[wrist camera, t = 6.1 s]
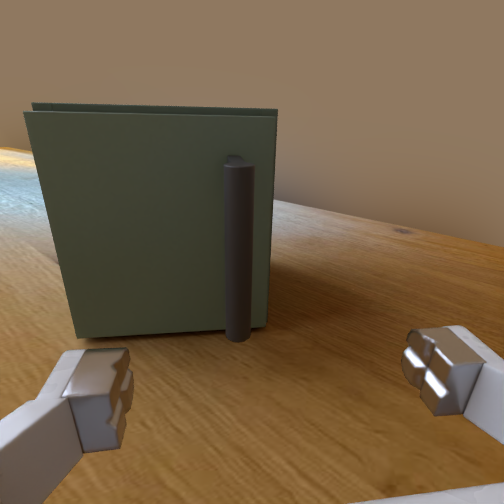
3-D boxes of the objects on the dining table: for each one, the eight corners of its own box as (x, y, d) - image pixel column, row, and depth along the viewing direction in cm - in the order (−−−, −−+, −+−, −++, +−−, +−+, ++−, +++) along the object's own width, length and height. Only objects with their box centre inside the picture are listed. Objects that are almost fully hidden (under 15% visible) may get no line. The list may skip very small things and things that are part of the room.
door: (276, 367, 24) (294, 118, 17) (50, 385, 22) (-32, 111, 15) (263, 320, 29) (272, 116, 22) (80, 331, 27) (30, 111, 20)
